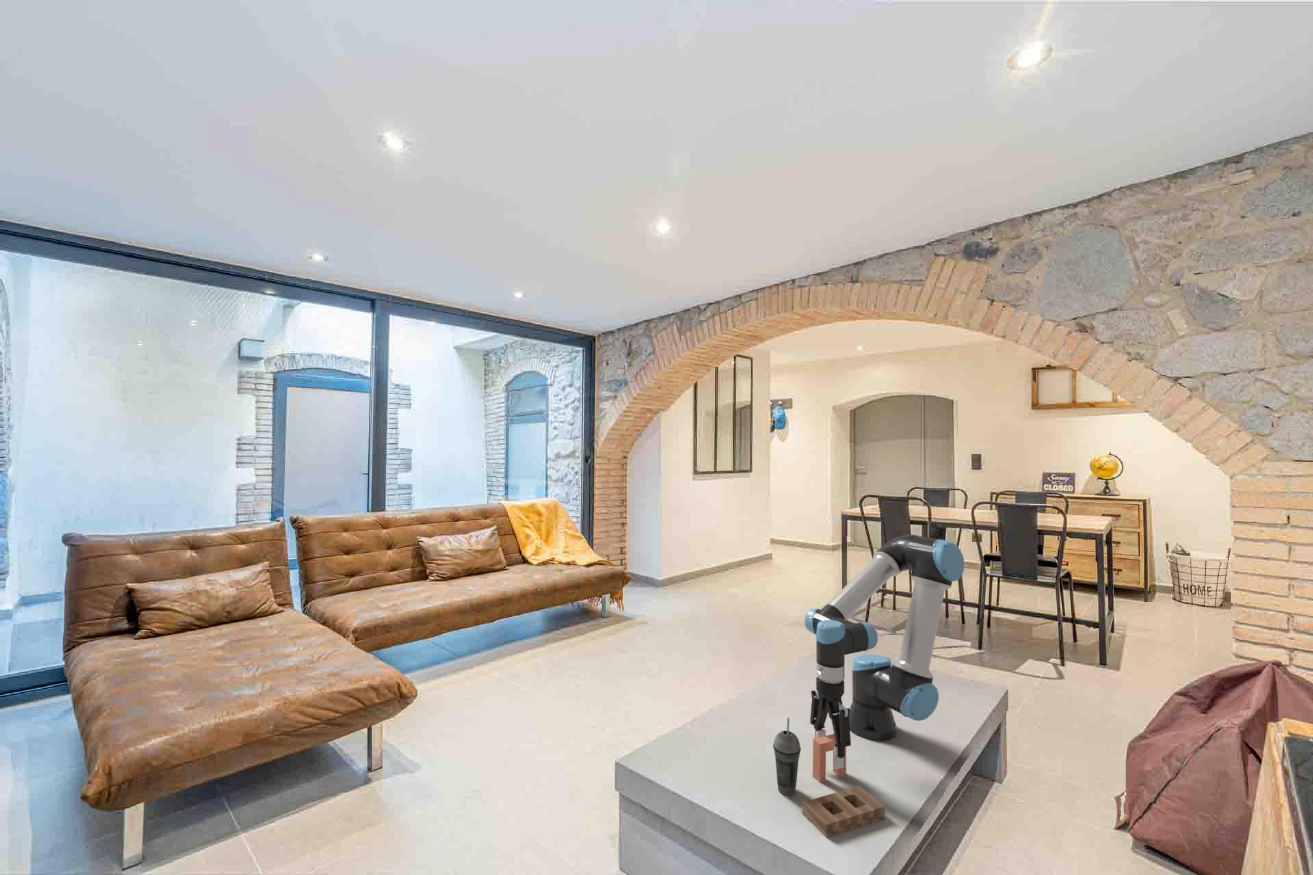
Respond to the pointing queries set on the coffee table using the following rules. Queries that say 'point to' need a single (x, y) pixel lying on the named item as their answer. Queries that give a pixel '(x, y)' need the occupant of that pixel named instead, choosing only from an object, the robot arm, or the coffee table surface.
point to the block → (824, 757)
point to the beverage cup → (786, 760)
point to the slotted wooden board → (843, 811)
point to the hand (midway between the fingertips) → (829, 760)
